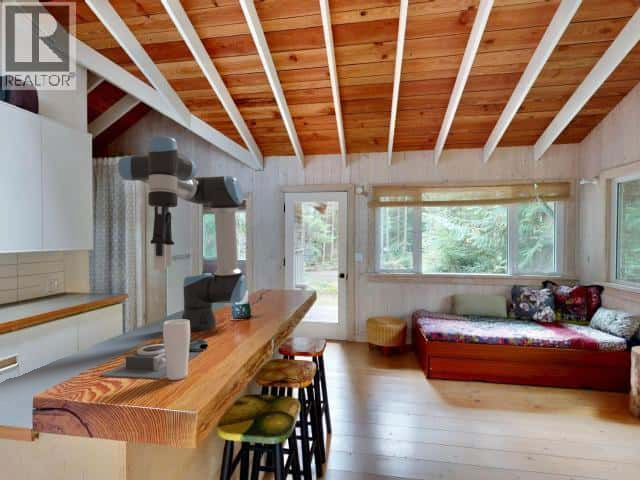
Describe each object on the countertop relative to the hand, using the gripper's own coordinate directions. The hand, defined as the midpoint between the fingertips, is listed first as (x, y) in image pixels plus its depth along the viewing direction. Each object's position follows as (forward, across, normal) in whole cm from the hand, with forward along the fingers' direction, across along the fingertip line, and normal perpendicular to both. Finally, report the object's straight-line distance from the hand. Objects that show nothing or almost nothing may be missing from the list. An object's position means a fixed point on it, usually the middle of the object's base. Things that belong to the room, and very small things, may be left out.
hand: (163, 267), depth 99 cm
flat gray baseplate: (+29, -10, -4) cm, 31 cm away
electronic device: (+30, -24, +4) cm, 38 cm away
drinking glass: (+30, +4, +4) cm, 30 cm away
